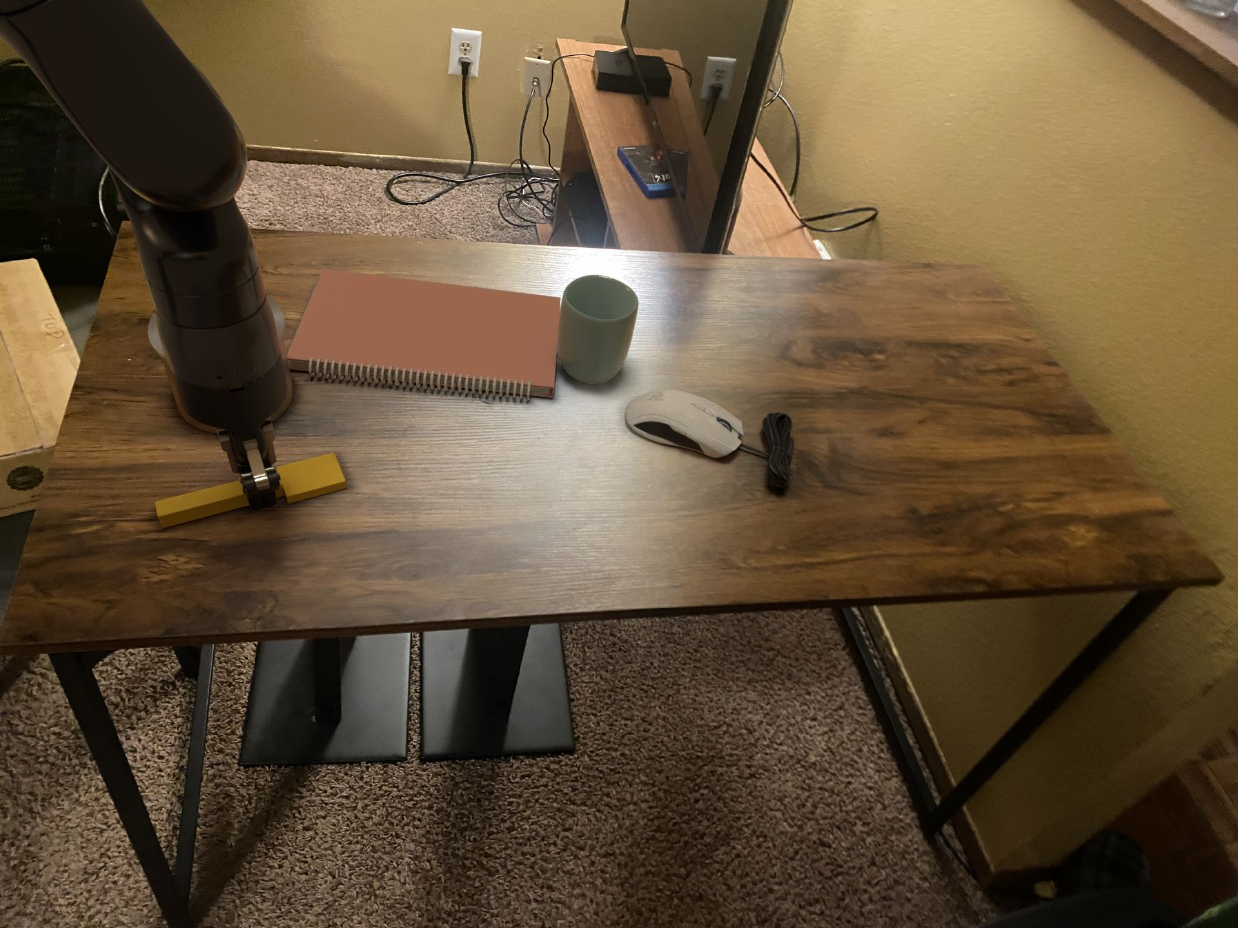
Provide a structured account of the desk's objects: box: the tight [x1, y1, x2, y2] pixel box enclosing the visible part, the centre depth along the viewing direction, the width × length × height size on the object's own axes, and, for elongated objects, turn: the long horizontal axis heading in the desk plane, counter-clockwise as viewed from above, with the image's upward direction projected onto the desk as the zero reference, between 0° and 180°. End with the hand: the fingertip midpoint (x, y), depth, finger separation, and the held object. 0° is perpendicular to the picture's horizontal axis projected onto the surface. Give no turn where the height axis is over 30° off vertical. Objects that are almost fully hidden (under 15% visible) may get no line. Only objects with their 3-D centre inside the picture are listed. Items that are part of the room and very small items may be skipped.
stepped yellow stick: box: [154, 452, 347, 529], centre depth 74 cm, size 15×4×2 cm, turn 119°
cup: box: [557, 274, 640, 385], centre depth 89 cm, size 8×8×10 cm
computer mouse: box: [624, 388, 795, 489], centre depth 86 cm, size 10×18×4 cm, turn 75°
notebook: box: [286, 268, 562, 401], centre depth 91 cm, size 27×17×2 cm, turn 91°
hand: (263, 503), depth 72 cm, fingers closed
